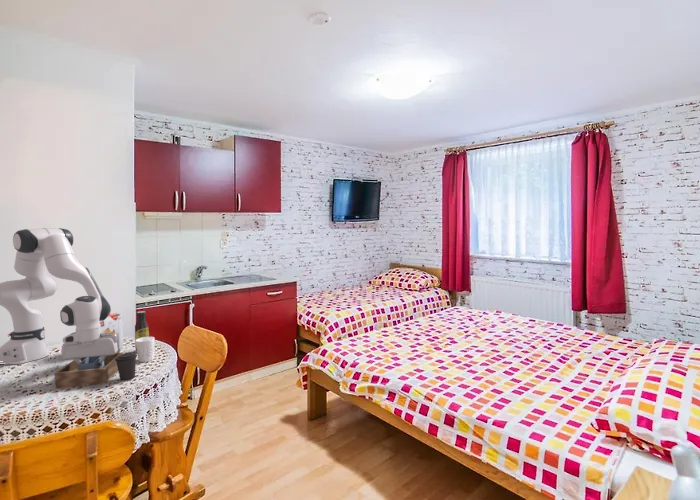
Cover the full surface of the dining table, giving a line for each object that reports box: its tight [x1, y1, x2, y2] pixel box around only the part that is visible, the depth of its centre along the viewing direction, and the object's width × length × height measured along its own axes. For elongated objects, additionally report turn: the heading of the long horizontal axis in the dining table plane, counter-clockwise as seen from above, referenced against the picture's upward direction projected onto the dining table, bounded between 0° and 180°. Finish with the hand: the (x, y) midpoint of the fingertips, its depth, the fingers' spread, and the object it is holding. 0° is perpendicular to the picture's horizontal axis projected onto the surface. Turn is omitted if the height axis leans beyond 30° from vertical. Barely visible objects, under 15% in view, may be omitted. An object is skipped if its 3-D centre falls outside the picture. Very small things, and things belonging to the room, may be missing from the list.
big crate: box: [54, 352, 124, 389], centre depth 164 cm, size 18×20×6 cm
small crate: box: [77, 356, 105, 370], centre depth 164 cm, size 6×10×5 cm, turn 12°
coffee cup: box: [115, 352, 138, 382], centre depth 160 cm, size 8×8×10 cm
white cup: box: [135, 336, 156, 363], centre depth 182 cm, size 8×8×10 cm
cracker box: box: [99, 314, 121, 353], centre depth 182 cm, size 14×6×21 cm, turn 168°
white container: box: [110, 312, 124, 350], centre depth 199 cm, size 15×15×18 cm
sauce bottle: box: [134, 310, 150, 353], centre depth 195 cm, size 7×6×20 cm
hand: (91, 366), depth 164 cm, fingers closed on small crate, 6 cm apart
